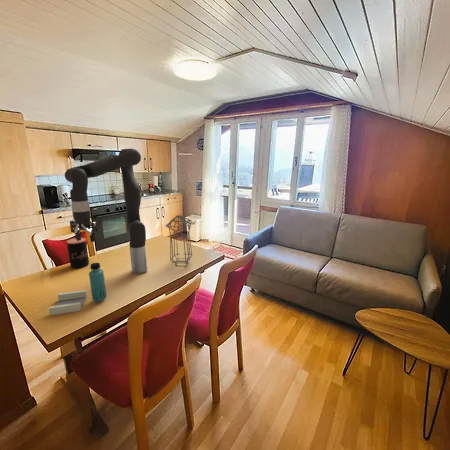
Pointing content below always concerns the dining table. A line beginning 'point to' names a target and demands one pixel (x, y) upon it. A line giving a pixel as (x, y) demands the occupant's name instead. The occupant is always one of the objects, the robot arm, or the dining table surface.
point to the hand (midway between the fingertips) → (85, 241)
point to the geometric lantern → (178, 236)
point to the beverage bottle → (97, 283)
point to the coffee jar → (77, 253)
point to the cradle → (69, 302)
